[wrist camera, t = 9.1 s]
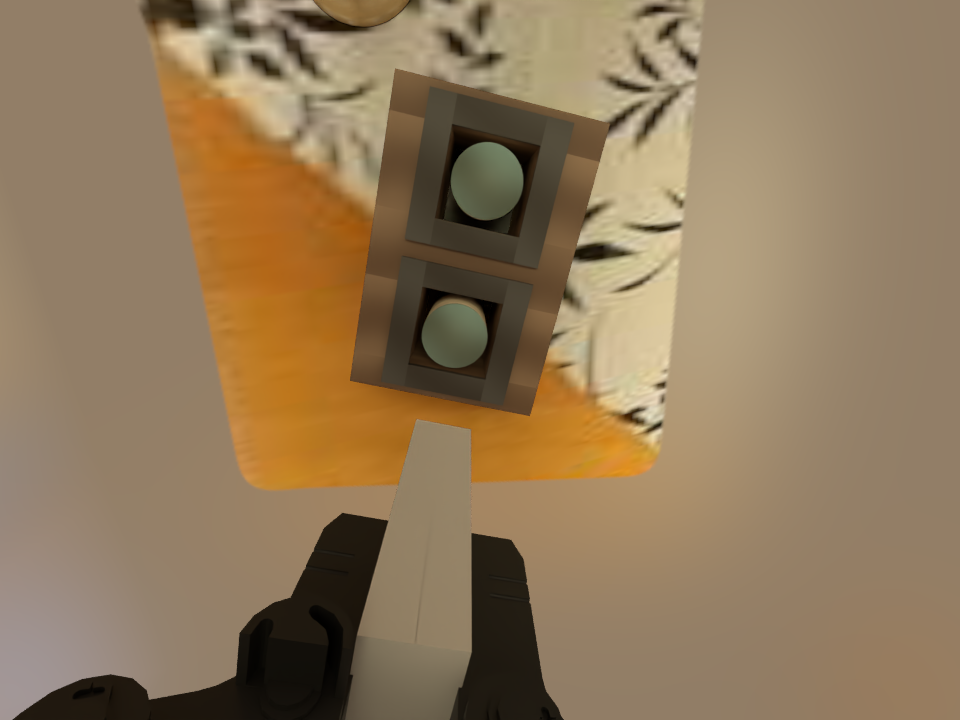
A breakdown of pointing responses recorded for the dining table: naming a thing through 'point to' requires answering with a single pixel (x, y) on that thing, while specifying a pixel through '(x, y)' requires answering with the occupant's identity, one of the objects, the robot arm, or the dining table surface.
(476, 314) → the peg
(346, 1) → the hand bell
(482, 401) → the socket block
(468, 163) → the peg
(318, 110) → the dining table surface
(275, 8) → the dining table surface
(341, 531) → the robot arm
